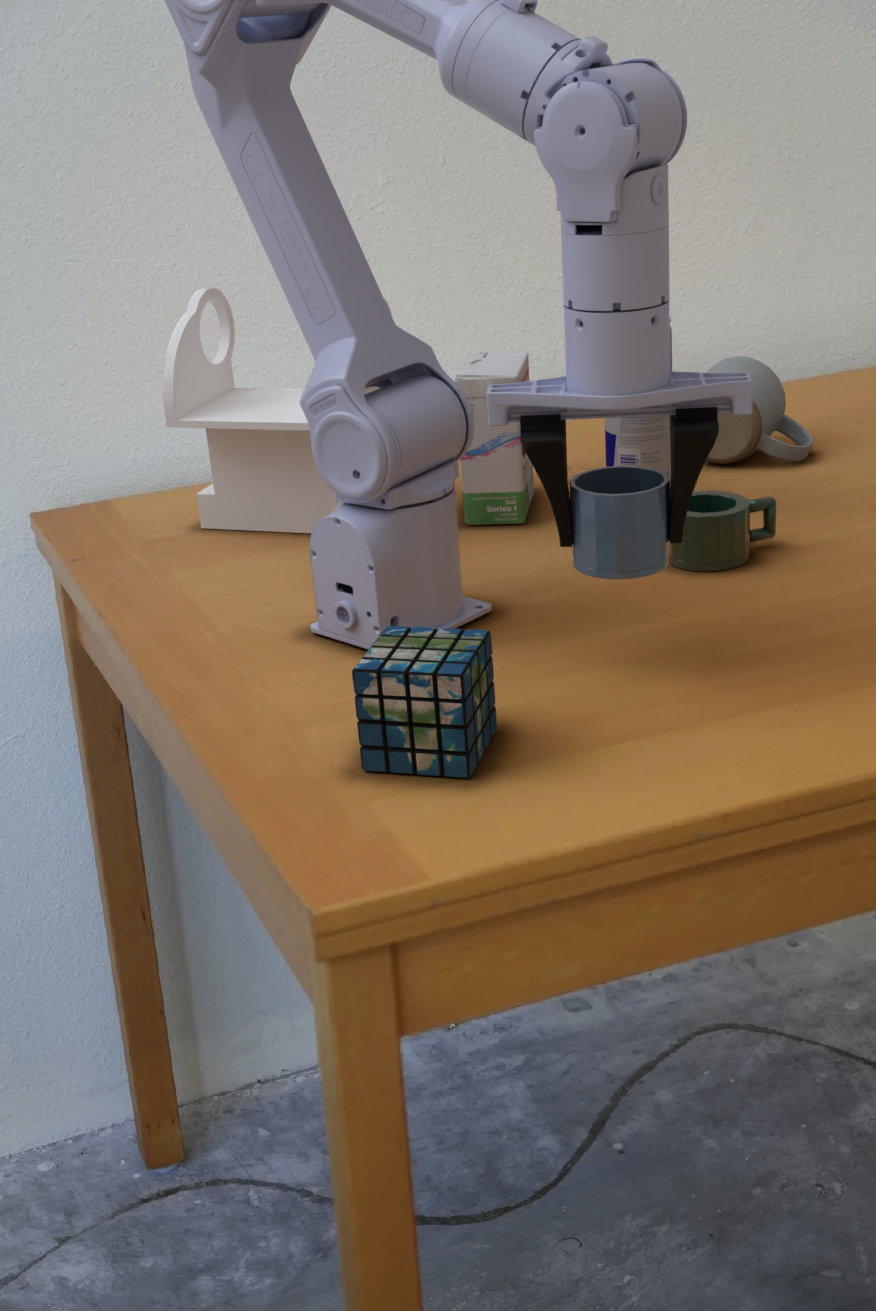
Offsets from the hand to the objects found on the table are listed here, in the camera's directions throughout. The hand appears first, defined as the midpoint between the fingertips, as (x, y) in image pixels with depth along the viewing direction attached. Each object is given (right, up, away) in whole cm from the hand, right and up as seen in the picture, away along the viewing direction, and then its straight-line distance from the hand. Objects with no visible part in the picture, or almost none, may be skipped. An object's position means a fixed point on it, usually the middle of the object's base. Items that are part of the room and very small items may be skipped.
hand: (621, 539), depth 86 cm
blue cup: (0, -1, +1) cm, 1 cm away
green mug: (+10, 0, +19) cm, 21 cm away
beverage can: (+5, +4, +29) cm, 30 cm away
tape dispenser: (-22, +4, +34) cm, 41 cm away
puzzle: (-11, -12, -5) cm, 17 cm away
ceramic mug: (+16, +10, +41) cm, 45 cm away
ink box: (-6, +5, +32) cm, 33 cm away
